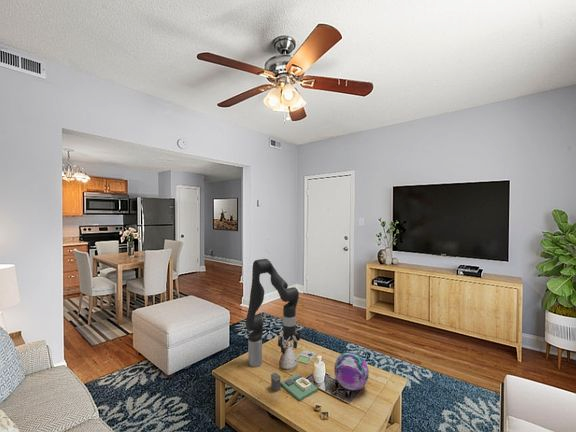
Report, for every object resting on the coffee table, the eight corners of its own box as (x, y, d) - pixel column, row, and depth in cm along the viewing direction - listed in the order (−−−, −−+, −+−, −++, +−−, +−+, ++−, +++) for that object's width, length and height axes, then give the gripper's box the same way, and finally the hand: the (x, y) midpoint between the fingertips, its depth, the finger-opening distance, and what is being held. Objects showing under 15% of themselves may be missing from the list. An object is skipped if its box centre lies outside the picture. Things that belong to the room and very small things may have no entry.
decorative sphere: (365, 402, 149) (365, 367, 148) (330, 392, 157) (330, 358, 157) (370, 381, 167) (371, 349, 167) (338, 373, 176) (338, 343, 175)
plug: (271, 387, 163) (271, 374, 162) (276, 384, 165) (275, 372, 164) (276, 391, 158) (275, 378, 158) (281, 389, 161) (280, 376, 160)
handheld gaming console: (316, 352, 199) (307, 363, 186) (316, 354, 199) (307, 365, 186) (303, 349, 204) (294, 359, 190) (303, 351, 204) (294, 361, 190)
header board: (280, 384, 165) (280, 379, 165) (298, 375, 173) (297, 370, 173) (299, 401, 151) (299, 395, 150) (317, 390, 159) (317, 384, 159)
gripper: (294, 317, 162) (294, 344, 163) (275, 324, 153) (275, 352, 154) (303, 321, 156) (302, 349, 157) (283, 329, 147) (283, 358, 148)
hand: (289, 350), depth 155 cm, fingers open, 8 cm apart
